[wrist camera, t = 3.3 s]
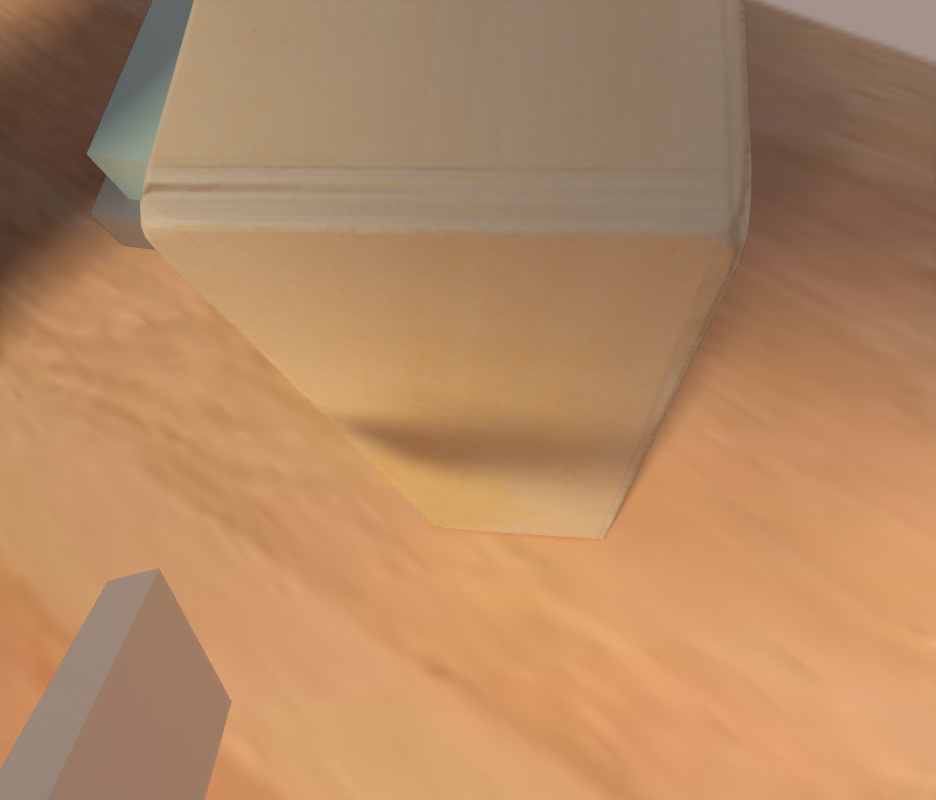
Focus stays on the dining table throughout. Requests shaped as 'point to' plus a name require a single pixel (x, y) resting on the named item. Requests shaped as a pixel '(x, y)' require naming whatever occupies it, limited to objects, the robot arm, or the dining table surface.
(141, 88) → the brick stand
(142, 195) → the toy refrigerator
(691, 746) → the dining table surface
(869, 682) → the dining table surface
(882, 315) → the dining table surface
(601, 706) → the dining table surface
